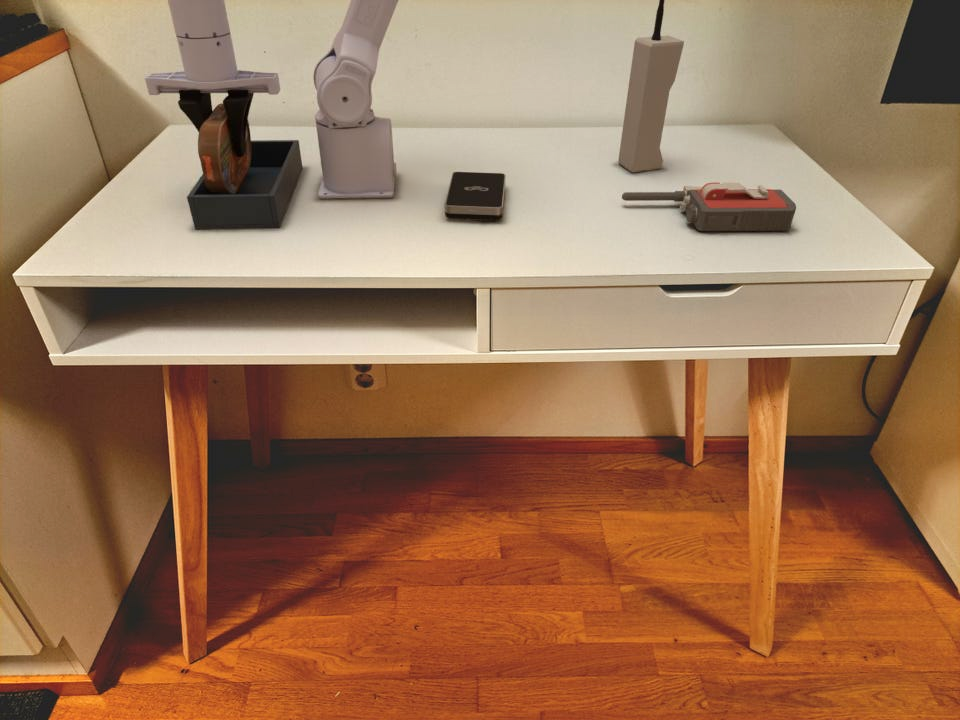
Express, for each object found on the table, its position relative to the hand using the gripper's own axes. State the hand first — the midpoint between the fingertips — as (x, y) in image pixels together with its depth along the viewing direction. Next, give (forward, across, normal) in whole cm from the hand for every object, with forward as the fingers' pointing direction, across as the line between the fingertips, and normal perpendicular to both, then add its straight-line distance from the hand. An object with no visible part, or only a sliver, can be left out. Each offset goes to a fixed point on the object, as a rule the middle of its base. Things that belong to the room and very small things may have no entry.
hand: (228, 154), depth 83 cm
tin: (+3, 0, 0) cm, 3 cm away
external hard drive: (+6, -30, +4) cm, 31 cm away
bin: (+6, -2, 0) cm, 6 cm away
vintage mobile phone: (+6, -54, -8) cm, 55 cm away
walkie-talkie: (+6, -58, +8) cm, 59 cm away
